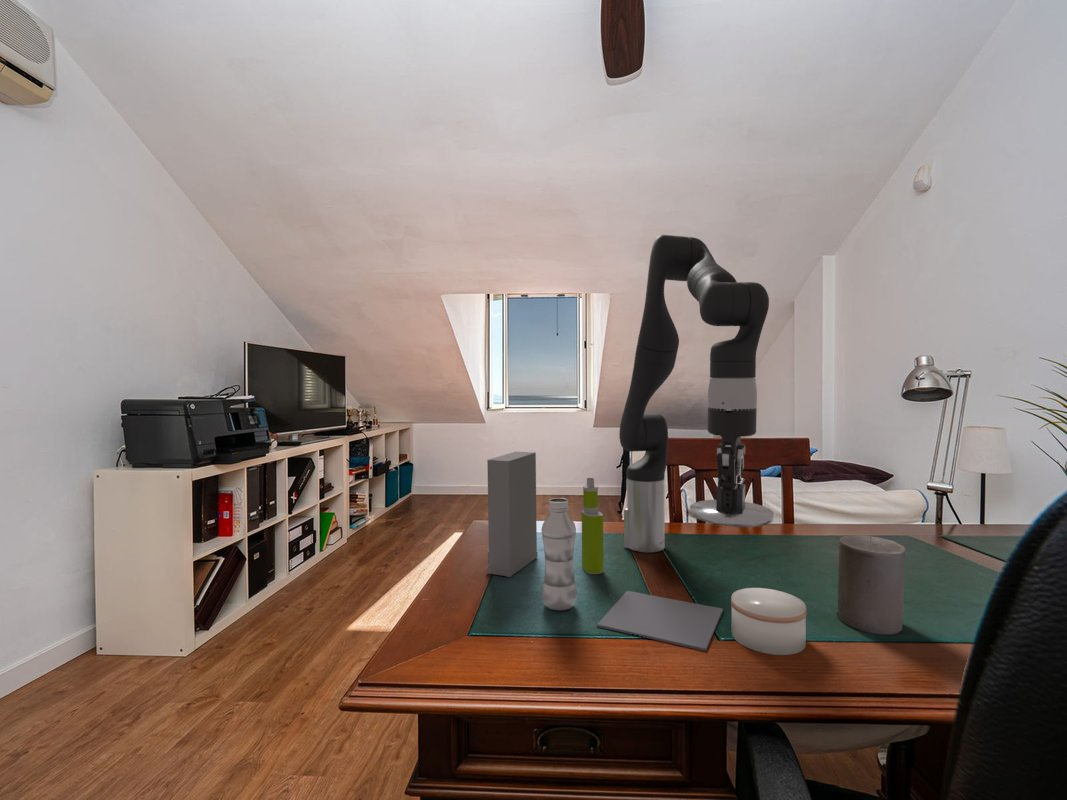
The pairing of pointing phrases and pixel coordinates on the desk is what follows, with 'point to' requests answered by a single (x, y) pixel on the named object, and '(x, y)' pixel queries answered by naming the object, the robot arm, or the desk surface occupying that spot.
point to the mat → (663, 619)
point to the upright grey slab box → (511, 512)
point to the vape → (592, 530)
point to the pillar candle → (871, 584)
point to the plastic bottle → (559, 557)
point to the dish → (768, 621)
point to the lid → (741, 517)
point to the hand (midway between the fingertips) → (730, 507)
